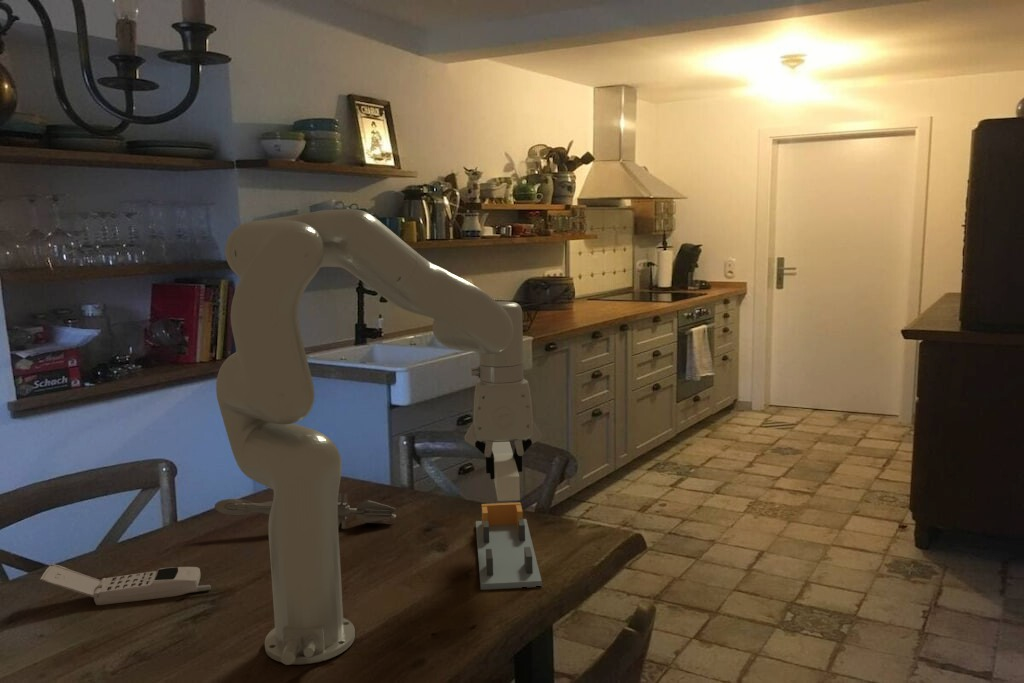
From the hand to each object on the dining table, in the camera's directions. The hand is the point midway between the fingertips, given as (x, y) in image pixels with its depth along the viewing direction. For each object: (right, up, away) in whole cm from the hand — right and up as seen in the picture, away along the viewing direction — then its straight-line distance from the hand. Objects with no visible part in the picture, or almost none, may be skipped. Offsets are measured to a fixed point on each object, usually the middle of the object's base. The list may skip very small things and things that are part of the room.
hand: (504, 475), depth 143 cm
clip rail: (0, -15, +4) cm, 15 cm away
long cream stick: (0, -1, 0) cm, 1 cm away
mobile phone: (-61, -18, -9) cm, 65 cm away
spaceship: (-39, -14, +18) cm, 45 cm away
